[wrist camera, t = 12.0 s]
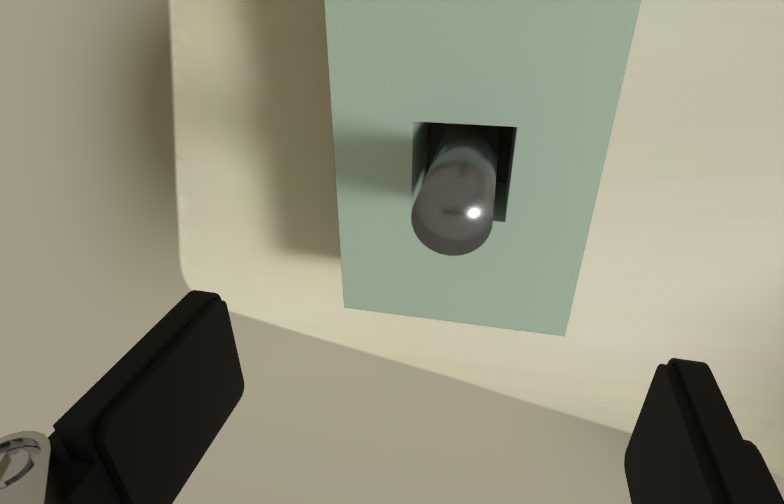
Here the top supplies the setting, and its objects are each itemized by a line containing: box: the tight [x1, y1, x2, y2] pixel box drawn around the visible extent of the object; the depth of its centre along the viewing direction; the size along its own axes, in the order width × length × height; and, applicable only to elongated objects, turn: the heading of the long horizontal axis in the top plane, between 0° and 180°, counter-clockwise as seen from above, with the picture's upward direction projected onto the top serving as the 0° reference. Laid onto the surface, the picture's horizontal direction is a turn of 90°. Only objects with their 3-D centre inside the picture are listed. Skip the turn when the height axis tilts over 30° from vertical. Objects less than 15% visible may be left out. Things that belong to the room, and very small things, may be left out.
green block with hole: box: [324, 0, 641, 336], centre depth 24 cm, size 17×12×5 cm
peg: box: [411, 123, 499, 256], centre depth 22 cm, size 3×3×10 cm
